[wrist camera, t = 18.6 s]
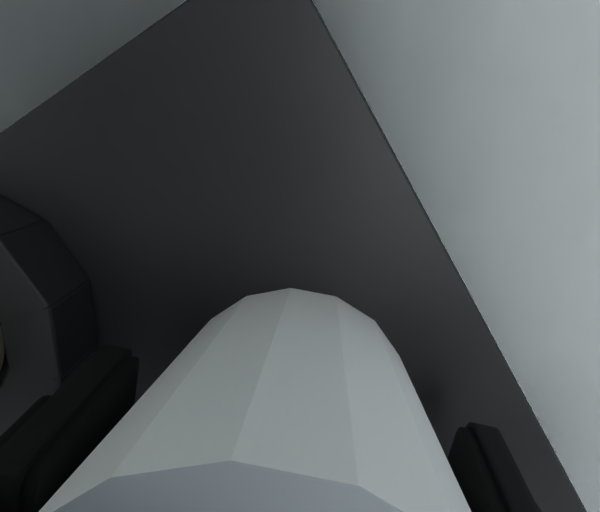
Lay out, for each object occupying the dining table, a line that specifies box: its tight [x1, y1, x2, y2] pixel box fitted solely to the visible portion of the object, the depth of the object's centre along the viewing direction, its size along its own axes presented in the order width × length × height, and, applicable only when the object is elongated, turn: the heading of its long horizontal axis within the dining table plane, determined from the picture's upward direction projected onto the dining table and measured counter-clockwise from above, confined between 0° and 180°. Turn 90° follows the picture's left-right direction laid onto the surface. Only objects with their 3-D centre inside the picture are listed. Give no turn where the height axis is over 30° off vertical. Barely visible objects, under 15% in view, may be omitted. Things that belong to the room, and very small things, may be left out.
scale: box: [0, 0, 587, 512], centre depth 13 cm, size 18×14×3 cm
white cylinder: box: [39, 288, 471, 512], centre depth 9 cm, size 7×7×7 cm
